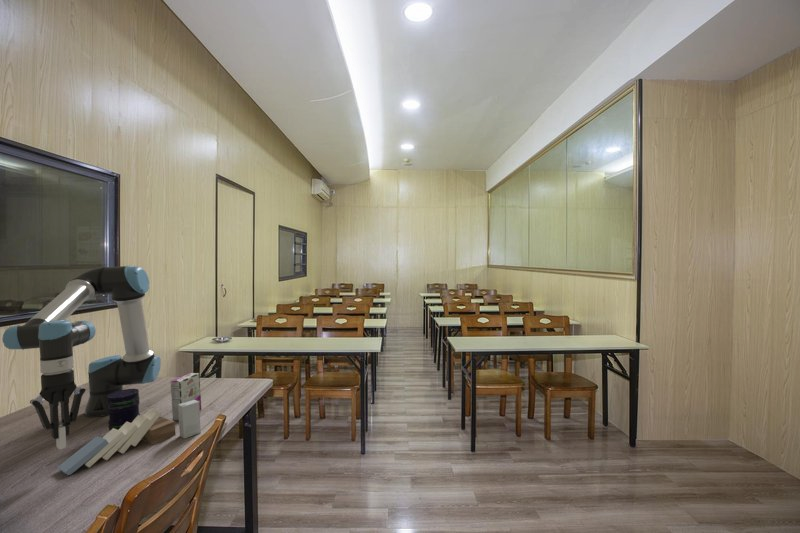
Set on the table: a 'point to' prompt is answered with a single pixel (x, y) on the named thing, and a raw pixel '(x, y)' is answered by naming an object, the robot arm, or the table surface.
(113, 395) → the storage jar
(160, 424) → the end block
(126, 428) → the tile
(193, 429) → the skincare box
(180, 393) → the candy bar box
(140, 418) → the tile
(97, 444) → the tile
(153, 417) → the tile
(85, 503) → the table surface
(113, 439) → the tile
